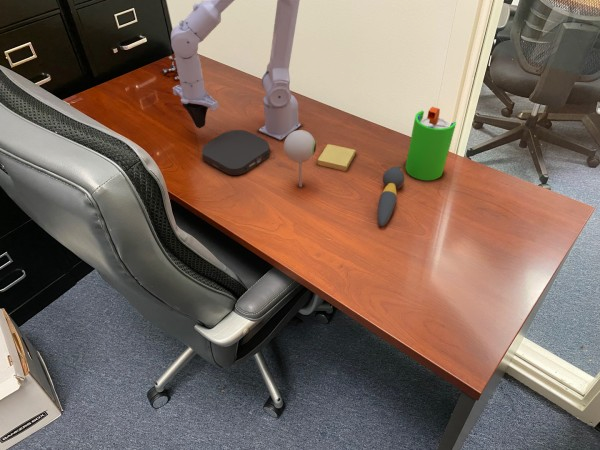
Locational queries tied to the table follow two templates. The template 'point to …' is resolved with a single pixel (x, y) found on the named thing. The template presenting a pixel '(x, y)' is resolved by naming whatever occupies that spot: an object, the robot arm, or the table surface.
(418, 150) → the green upright cylinder
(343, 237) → the table surface
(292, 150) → the lollipop
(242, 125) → the table surface
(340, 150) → the sticky note pad
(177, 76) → the molecule model
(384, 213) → the grey microphone
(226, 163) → the media streaming box
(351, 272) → the table surface
